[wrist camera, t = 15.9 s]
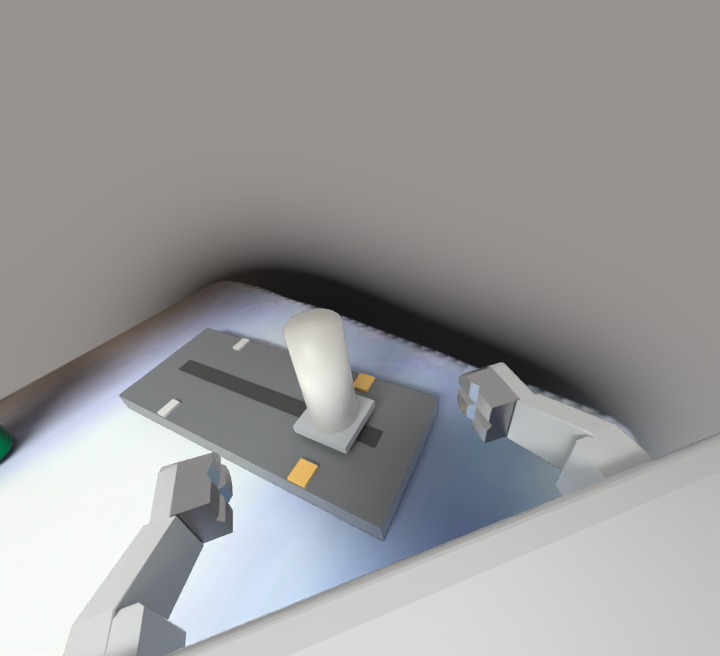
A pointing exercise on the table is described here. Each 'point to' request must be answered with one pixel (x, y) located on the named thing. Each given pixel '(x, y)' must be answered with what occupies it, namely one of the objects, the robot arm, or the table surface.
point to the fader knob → (325, 380)
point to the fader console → (287, 425)
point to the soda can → (5, 442)
